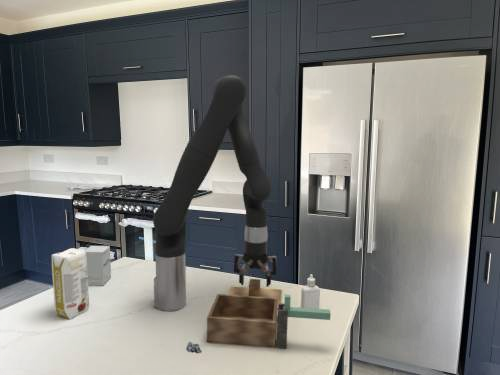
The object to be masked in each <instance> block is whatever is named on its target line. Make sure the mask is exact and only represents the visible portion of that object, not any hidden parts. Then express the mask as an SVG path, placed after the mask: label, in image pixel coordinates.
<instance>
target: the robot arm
mask: <svg viewBox="0 0 500 375" xmlns="http://www.w3.org/2000/svg"><path fill="white" fill-rule="evenodd" d="M246 96H247V86H246V83H245V82H244V80H243V79H242V78H241V77H239V76H238V75H234V74H233V75H232V74H228V75H224V76H222V77H220V78H217V80H216V81H215V82H214V84H213V87H212V99H211V103H210V105H209V108H208V110H207V112H206V114H205V115H204V118H203V120H202V121H201V123H200V124H199V125H198V126H197V128H196V129H195V131H194V132H193V134H192V135H191V137H190V138H189V140H188V142H187V144H186V146H185V148H184V150H183V151H182V154H181V157H180V159H179V162H178V164H177V167H176V170H175V173H174V176H173V178H172V179H173V180H172V181H171V185H170V187H169V189H168V191H167V193H166V195H165V197H164V198H163V200H162V201H161V203H160V205H159V206H158V208H156V210H155V211H154V213H153V217H152V218H153V219H152V222H153V228H154V229H155V231H156V233H155V234H156V237H155V247H154V249H155V250H154V252H155V253H154V255H155V277H154V278H153V301H154V302H153V303H154V304H153V305H154V306H153V307H154V308H157V309H159V310H161V311H165V312H171V311H172V312H174V311H177V310H180V309H182V308H184V307H185V306H186V305H187V275H186V273H187V272H186V243H187V218H186V217H187V214H188V211H189V208H190V206H191V203H192V200H193V198H195V197H194V196H195V195H196V193H197V192H198V190H199V188H200V187H201V186H202V184H203V182H204V181H205V179H206V177H207V176H208V174H209V172H210V170H211V168H212V166H213V163H214V162H215V159H216V157H217V155H218V152H219V150H220V148H221V146H222V144H223V141H224V139H225V135H226V133H227V132H228V134H229V137H230V141H231V144H232V148H233V151H234V155H235V159H236V162H237V165H238V168H239V171H240V172H241V173H242V174H243V175H244V177H245V178H246V180H245V182H244V183H243V187H242V198H243V204H244V209H245V225H244V226H245V228H244V250H243V252H244V253H243V254H240V253H238V252H237V253H235V255H234V259H233V260H234V262H233V272H234V273H235V274H238V283H239V284H240V285H241V286H244V283H245V272H246V271H247V270H248V269H249V268H250V269H257V270H260V269H261V270H262V271H263V272H264V273H265V274H266V283H265V284H266V286H265V287H267V288H268V287H269V286H271V284H272V276H276V275H277V274H278V273H277V272H278V267H277V266H278V265H277V255H275V254H274V255H272V256H270V255H268V237H269V235H268V233H269V232H268V210H267V209H266V207H265V206H264V203H263V202H266V201H267V200H268V199H269V198H270V196H271V194H272V184H271V182H270V179H269V176H268V174H267V173H266V171H265V169H264V167H263V165H262V162H261V159H260V154H259V152H258V147H257V145H256V142H255V139H254V137H253V135H252V132H251V130H250V128H249V126H248V123H247V120H246V118H245V117H246V116H245V114H244V111H243V110H244V109H243V103H244V101H245V99H246ZM241 261H244V264H243V265H242V267H241V268H240V267H239V264H240V262H241ZM268 261H269V262H270V264H272V269H270V268H269V265H268V263H267V262H268Z"/></svg>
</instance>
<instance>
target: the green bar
mask: <svg viewBox="0 0 500 375" xmlns="http://www.w3.org/2000/svg"><path fill="white" fill-rule="evenodd" d="M291 298H292V297H291V294H286V293H285V294H284V303H283V304H284V306H283V310H288V318H296V319H297V318H298V319H311V320H312V319H313V320H323V321H325V320H326V321H331V316H332V315H331V314H332V313H331V309H326V308H325V309H322V308H319V309H313V308H301V307H297V306H296V307H295V306H291Z"/></svg>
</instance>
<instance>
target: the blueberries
mask: <svg viewBox="0 0 500 375" xmlns="http://www.w3.org/2000/svg"><path fill="white" fill-rule="evenodd" d="M202 344H203V345H204V344H205V343H204V342H202ZM185 350H186V351H187V352H188V353H192V354H193V353H195V354H201V353H202V352H203V351H202V349H201V348H200V345H199V344H198V343H193V342H192V341H188V343H187V345H186V348H185Z"/></svg>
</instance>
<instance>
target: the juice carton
mask: <svg viewBox="0 0 500 375" xmlns="http://www.w3.org/2000/svg"><path fill="white" fill-rule="evenodd" d="M51 276H52V286H53V287H52V288H53V298H54V299H53V300H54V310H55V311H54V312H55V314H56V316H59V317H61V318H62V317H63V318H66V319H69V320H71V319H73V318H75V317H77V316H79V315H80V314H83V313H84V312H87V311H88V310H89V309H90V294H89V291H90V290H89V286H88V273H87V257H86V251H85V250H83V249H79V248H73V247H70V248H68V249H65V250H64V251H62V252H56V253H53V254H51Z"/></svg>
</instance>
